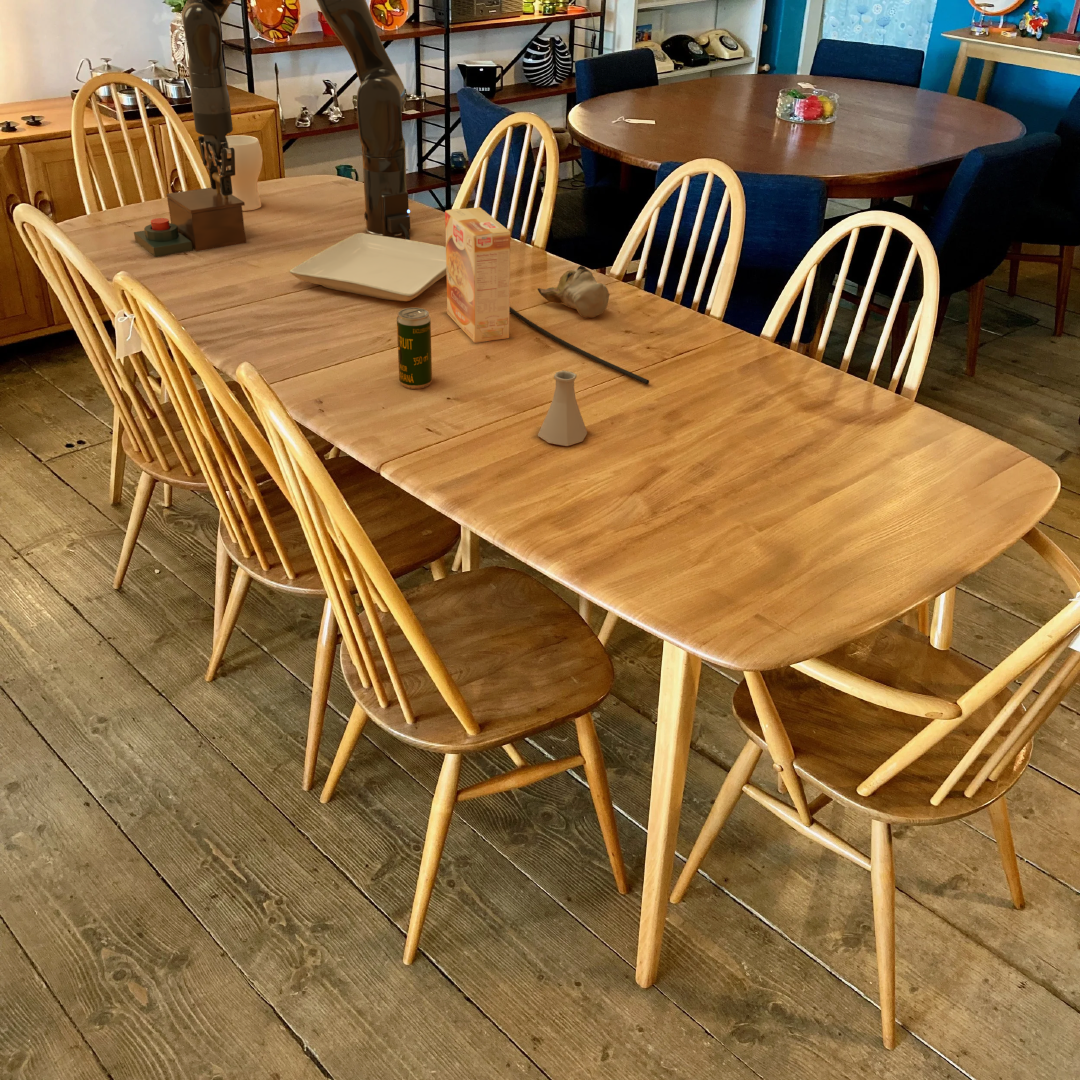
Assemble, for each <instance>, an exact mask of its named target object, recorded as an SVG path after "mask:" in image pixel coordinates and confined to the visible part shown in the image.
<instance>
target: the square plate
mask: <svg viewBox="0 0 1080 1080" xmlns="http://www.w3.org/2000/svg"><path fill="white" fill-rule="evenodd" d="M289 273H290V274H291V275H293V276H294V277H295V278H297V279H298V280H299V281H302V282H305V283H308V284H309V283H310V284H314V285H320V286H322V287H324V288H326V289H329V290H336V291H340V292H346V293H350V294H356V295H361V296H366V297H372V298H375V299H376V298H377V299H382V300H386V301H398V302H399V301H400V302H409V301H412V300H414V299H415V298H418V296H420V295H421V294H423V292H425V291H426V290H427V289H429V288H430V287H431V286H433V285H434V284H435V283H437V282H438V281H440V280H441V279H443V278H444V277H446V276H447V273H446V246H445V245H444V246H443V245H439V244H434V243H428V242H423V241H417V240H411V239H410V240H406V238H405V239H404V238H401V237H396V238H393V237H386V236H378V235H371V234H367V233H366V232H365V233H364V232H357V233H354V234H352V235H350V236H348V237H346V238H344V239H342V240H341V241H338V242H337V243H335V244H333V245H331V246H329V247H326V248H325V249H324V250H323V249H322V251H320V252H318V253H316V254H315V255H313V256H311V257H310V258H307V259H306V260H304V261H303V262H301V263H299V264H298V265H296V266H294V267H293V268H291V269H290V270H289Z"/></svg>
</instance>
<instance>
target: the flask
mask: <svg viewBox="0 0 1080 1080" xmlns="http://www.w3.org/2000/svg"><path fill="white" fill-rule="evenodd" d="M577 376H578V375H577V374H576V373H574V372H573V371H569V370H560V371H556V372H555V373H554V375H553V379H554V380H555V387H554V392H553V397H552V400H551V403H550V405H549V408H548V411H547V413H546V414H545V417H544V420H543V421H542V424H541V426H540V429H539V431H538V433H537V437H539V438H540V439H542V440H544V441H545V442H547V443H548V444H554V445H557V446H565V447H570V446H572V445H575V444H578V443H582V442H583V441H584V440H585V438H586V436H587V435H588V430H587V428H586V424H585V422H584V419H583V416H582V413H581V410H580V408H579V405H578V401H577V398H576V392H575V381H576V379H577Z"/></svg>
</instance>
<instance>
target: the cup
mask: <svg viewBox="0 0 1080 1080" xmlns="http://www.w3.org/2000/svg"><path fill="white" fill-rule="evenodd" d="M226 139H227V142H228V145H229V148H234V150H235V175H234V176H231V183H232V192H233V193H232V195H233V196H235V197H237V198H238V199H240V200H242V201H243V202H244V203H245V205H244V206H242V212H243V211H244V212H245V211H246V212H247V211H254V210H257V209H260V208H261V207H262V202H261V198H260V194H259V191H258V180H259V177H260V174H261V172H262V167H263V160H264V159H263V150H262V147H261V144H260V140H259V138H257V137H255V136H251V135H242V134H240V135H239V134H237V135H236V134H235V135H226ZM220 162H222V161H220ZM230 167H231V166H230ZM221 168H222V166H221ZM226 170H227V168H226Z"/></svg>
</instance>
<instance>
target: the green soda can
mask: <svg viewBox="0 0 1080 1080" xmlns="http://www.w3.org/2000/svg"><path fill="white" fill-rule="evenodd" d="M431 323H432V322H431V316H430V312H429V311H428V310H427V309H425V308H422V307H406V308H402V309H400V310H399V311H397V317H396V335H397V359H398V360H397V361H398V379H399V382H400V384H401V386H402V387H404V388H406V389H411V390H419V389H420V390H421V389H424V388H428V387H429V386H430V385H431V383H432V381H433V366H432V365H433V362H432V358H433V357H432V325H431Z"/></svg>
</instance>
